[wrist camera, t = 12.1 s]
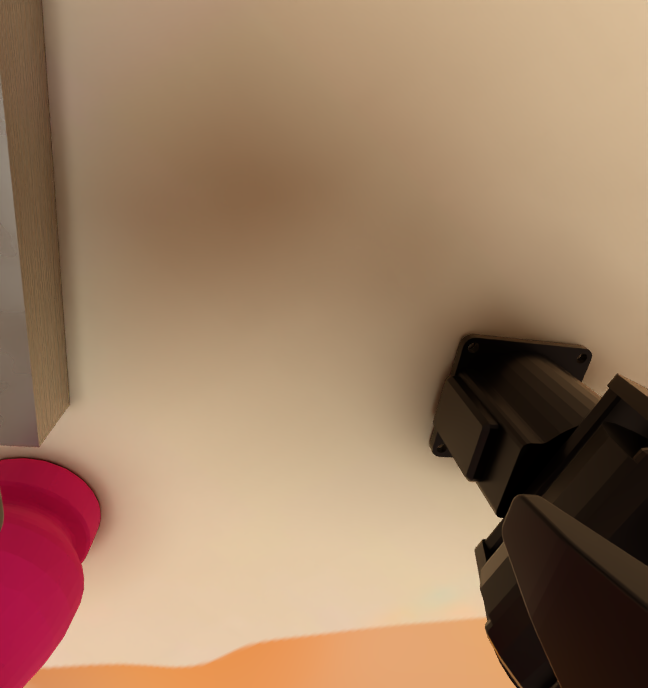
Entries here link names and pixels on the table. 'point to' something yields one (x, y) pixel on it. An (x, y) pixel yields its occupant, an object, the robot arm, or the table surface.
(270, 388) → the table surface
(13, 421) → the grey peg hole board
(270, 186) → the table surface
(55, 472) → the pepper mill
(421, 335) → the table surface
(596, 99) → the table surface
